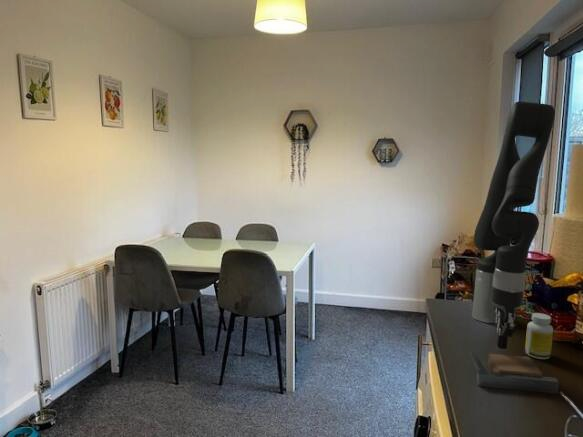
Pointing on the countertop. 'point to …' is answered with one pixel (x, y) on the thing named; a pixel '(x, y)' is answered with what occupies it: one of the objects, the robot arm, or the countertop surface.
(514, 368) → the slab
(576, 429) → the countertop surface
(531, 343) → the pill bottle
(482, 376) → the dark grey tray
